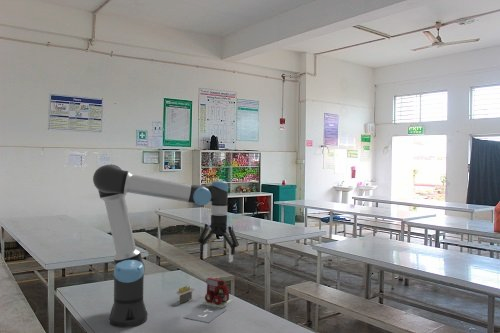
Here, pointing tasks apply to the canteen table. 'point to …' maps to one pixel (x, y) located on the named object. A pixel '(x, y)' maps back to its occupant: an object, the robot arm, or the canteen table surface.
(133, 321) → the robot arm
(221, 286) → the toy fire truck
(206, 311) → the tile
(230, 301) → the pad
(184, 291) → the platform
